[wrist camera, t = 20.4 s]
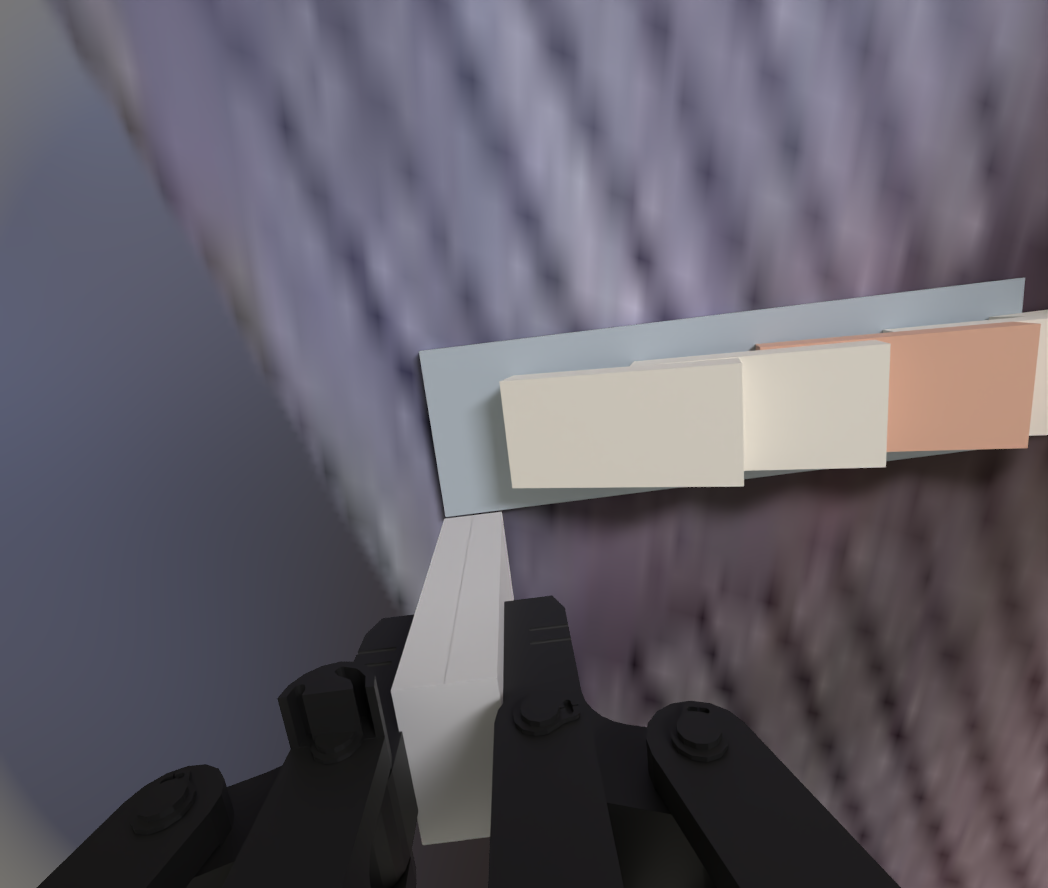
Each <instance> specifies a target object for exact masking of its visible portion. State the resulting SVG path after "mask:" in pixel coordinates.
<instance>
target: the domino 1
mask: <svg viewBox="0 0 1048 888" xmlns="http://www.w3.org/2000/svg"><path fill="white" fill-rule="evenodd" d="M890 346H891V344H890V343H886V342H882V341H878V340H867V341H855V342H844V343H833V344H822V345H811V346H800V347H788V348H777V349H766V350H755V351H744V352H732V353H721V354H710V355H699V356H688V357H677V358H665V359H654V360H643V361H634V362H633V363H632V364H631V365H630V366H640V365H652V364H665V363H678V362H691V361H703V360H716V359H729V358H739V359H740V361H741V362H742V389H743V450H744V471H752V470H794V469H836V468H878V467H886V450H887V424H888V398H889V372H890Z"/></svg>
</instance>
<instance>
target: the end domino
mask: <svg viewBox="0 0 1048 888" xmlns="http://www.w3.org/2000/svg"><path fill="white" fill-rule="evenodd" d="M499 383H500V391H501V399H502V407H503V416H504V424H505V432H506V440H507V448H508V456H509V465H510V473H511V481H512V488H612V487H743V486H744V450H743V389H742V362H741V361H740V359H739V358H729V359H716V360H703V361H691V362H678V363H665V364H652V365H640V366H627V367H614V368H601V369H589V370H576V371H563V372H551V373H538V374H525V375H513V376H511V377H509V378H506V379H504V380H502V381H499Z"/></svg>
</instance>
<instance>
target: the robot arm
mask: <svg viewBox="0 0 1048 888" xmlns="http://www.w3.org/2000/svg"><path fill="white" fill-rule="evenodd" d="M278 702H279V706H280V710H281V714H282V717H283V721H284V725H285V729H286V732H287V736H288V740H289V744H290V748H291V750H290V752H289V754H288V756H287V758H286V760H285V762H284V764H283V765H282V766H280V767H278V768H276V769H274V770H271V771H269V772H267V773H264V774H262V775H259V776H256V777H253V778H251V779H248V780H245V781H242V782H240V783H237V784H235V785H232V786H229V787H226V783H225V780H224V778H223V776H222V774H221V772H220V771H219V769H218V768H215V767H212V766H209V765H196V766H187V767H184V768H181V769H178V770H175V771H173V772H170V773H167V774H165V775H164V776H161V777H160V778H158V779H156V780H154V781H153V782H151V783H149V784H147V785H146V786H144V787H143V788H142V789H140V790H139V791H138V792H137V793H135V794H134V795H133V796H132V797H131V798H129V799H128V800H127V801H125V802H124V803H123V804H122V805H121V806H120V807H119V808H118V809H117V810H116V811H115V812H114V813H113V814H112V815H111V816H110V817H109V818H108V819H107V820H106V821H105V822H104V823H103V824H102V825H101V826H100V827H99V828H97V830H95V831H94V832H93V833H92V834H91V836H89V837H88V838H87V839H86V840H85V841H84V842H83V843H82V844H81V845H80V846H79V847H78V848H77V849H76V850H75V851H74V852H73V853H72V854H71V855H70V856H69V857H68V858H67V859H66V860H65V861H64V862H63V863H62V864H60V865H59V867H57V868H56V869H55V870H54V871H53V872H52V873H51V874H50V875H49V876H48V877H47V878H46V879H45V880H44V881H43V882H42V883H41V884H40V885H39V886H38V887H37V888H416V866H415V861H414V857H413V852H412V844H413V838H414V833H415V827H416V822H417V820H418V826H419V831H420V836H421V840H422V845H428V844H436V843H444V842H452V841H460V840H468V839H475V838H484V837H490V854H489V882H488V883H489V884H488V888H901V887H900V886H899V885H898V884H897V883H896V882H895V881H894V880H893V879H892V878H891V877H890V876H889V875H888V874H887V873H886V872H885V870H884V869H883V868H882V867H881V866H880V865H879V864H878V863H877V862H876V861H875V860H874V859H873V858H872V857H871V856H870V855H869V854H868V853H867V852H866V850H865V849H864V848H863V847H862V846H861V845H860V844H859V843H858V842H857V841H856V840H855V839H854V838H853V837H852V836H851V835H850V834H849V833H848V831H847V830H846V829H845V828H844V827H843V826H842V825H841V824H840V823H839V822H838V821H837V820H836V819H835V818H834V817H833V816H832V815H831V814H830V812H829V811H828V810H827V809H826V808H825V807H824V806H823V805H822V804H821V803H820V802H819V801H818V800H817V799H816V798H815V797H814V796H813V795H812V794H811V792H810V791H809V790H808V789H807V788H806V787H805V786H804V785H803V784H802V783H801V782H800V781H799V780H798V779H797V778H796V777H795V776H794V775H793V773H792V772H791V771H790V770H789V769H788V768H787V767H786V766H785V765H784V764H783V763H782V762H781V761H780V760H779V759H778V758H777V757H776V756H775V755H774V753H773V752H772V751H771V750H770V749H769V748H768V747H767V746H766V745H765V744H764V743H763V742H762V741H761V740H760V739H759V738H758V737H757V736H756V734H755V733H754V732H753V731H752V730H751V729H750V728H749V727H748V726H747V725H746V724H745V723H744V722H743V721H741V720H740V719H739V718H738V717H736V716H735V715H734V714H732V713H731V712H730V711H728V710H726V709H723V708H721V707H718V706H715V705H713V704H710V703H704V702H695V701H686V702H680V703H673V704H670V705H668V706H667V707H665V708H663V709H661V710H659V711H657V712H656V714H655V715H654V716H653V717H652V719H651V720H650V721H649V723H648V727H640V726H633V725H626V724H622V723H618V722H614V721H611V720H609V719H607V718H605V717H602V716H601V715H599V714H598V713H597V712H595V711H594V710H593V709H591V707H590V706H589V705H588V704H587V702H586V701H585V700H584V697H583V694H582V692H581V687H580V682H579V677H578V672H577V667H576V662H575V657H574V652H573V647H572V642H571V637H570V632H569V627H568V622H567V617H566V612H565V608H564V607H563V606H562V605H561V604H560V603H559V602H558V601H557V600H556V599H555V598H554V597H553V596H545V597H537V598H529V599H521V600H514V597H513V590H512V583H511V575H510V568H509V561H508V553H507V546H506V539H505V532H504V524H503V517H502V512H495V513H487V514H479V515H471V516H463V517H455V518H447V519H444V522H443V525H442V528H441V532H440V535H439V538H438V541H437V544H436V548H435V551H434V554H433V557H432V560H431V564H430V567H429V570H428V573H427V576H426V580H425V583H424V586H423V589H422V592H421V596H420V599H419V602H418V605H417V608H416V612H415V615H407V616H399V617H391V618H383V619H381V620H380V621H379V622H378V623H377V624H376V625H375V626H374V627H373V628H372V629H371V630H370V631H369V632H368V633H367V634H366V635H365V637H364V639H363V642H362V644H361V646H360V648H359V651H358V655H356V657H355V660H354V662H337V663H333V664H329V665H325V666H321V667H319V668H317V669H315V670H313V671H310V672H308V673H306V674H304V675H303V676H301V677H300V678H298V679H297V680H296V681H294V682H293V683H291V684H290V685H289V686H288V687H287V688H286V689H285V690H284V691H283V692H282V694H281V695H280V696H279V697H278Z"/></svg>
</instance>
